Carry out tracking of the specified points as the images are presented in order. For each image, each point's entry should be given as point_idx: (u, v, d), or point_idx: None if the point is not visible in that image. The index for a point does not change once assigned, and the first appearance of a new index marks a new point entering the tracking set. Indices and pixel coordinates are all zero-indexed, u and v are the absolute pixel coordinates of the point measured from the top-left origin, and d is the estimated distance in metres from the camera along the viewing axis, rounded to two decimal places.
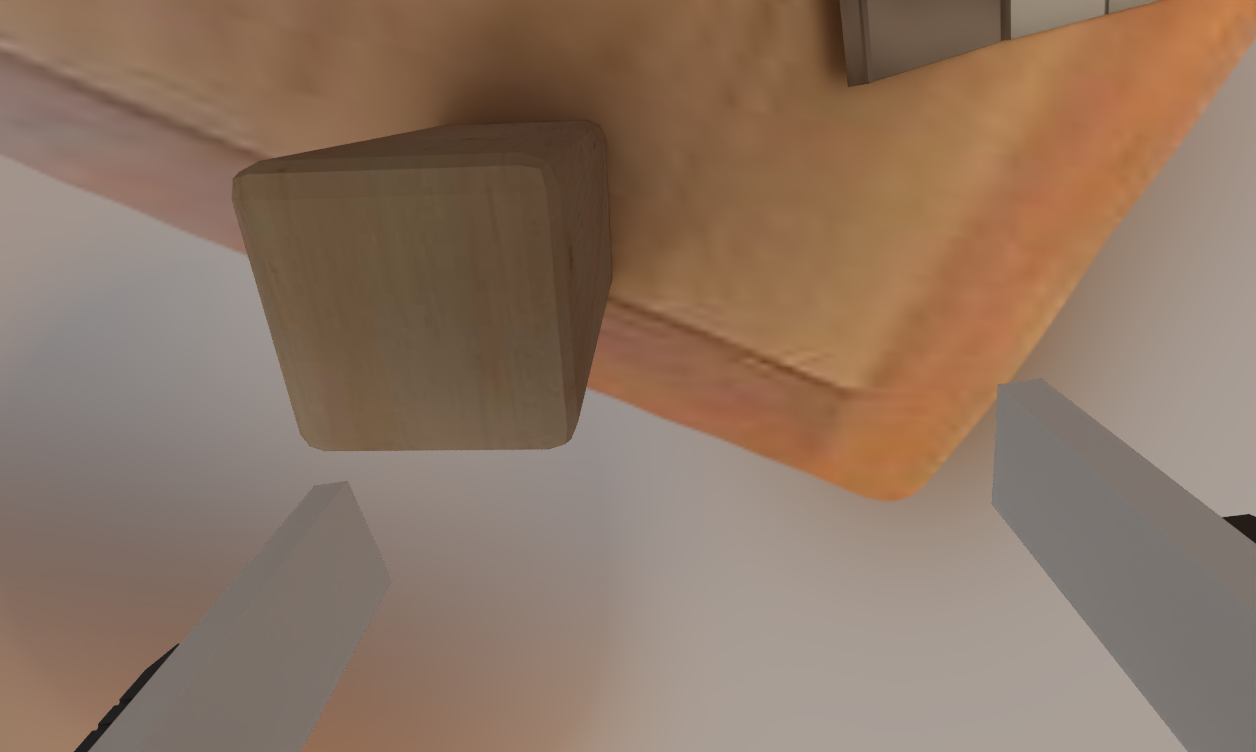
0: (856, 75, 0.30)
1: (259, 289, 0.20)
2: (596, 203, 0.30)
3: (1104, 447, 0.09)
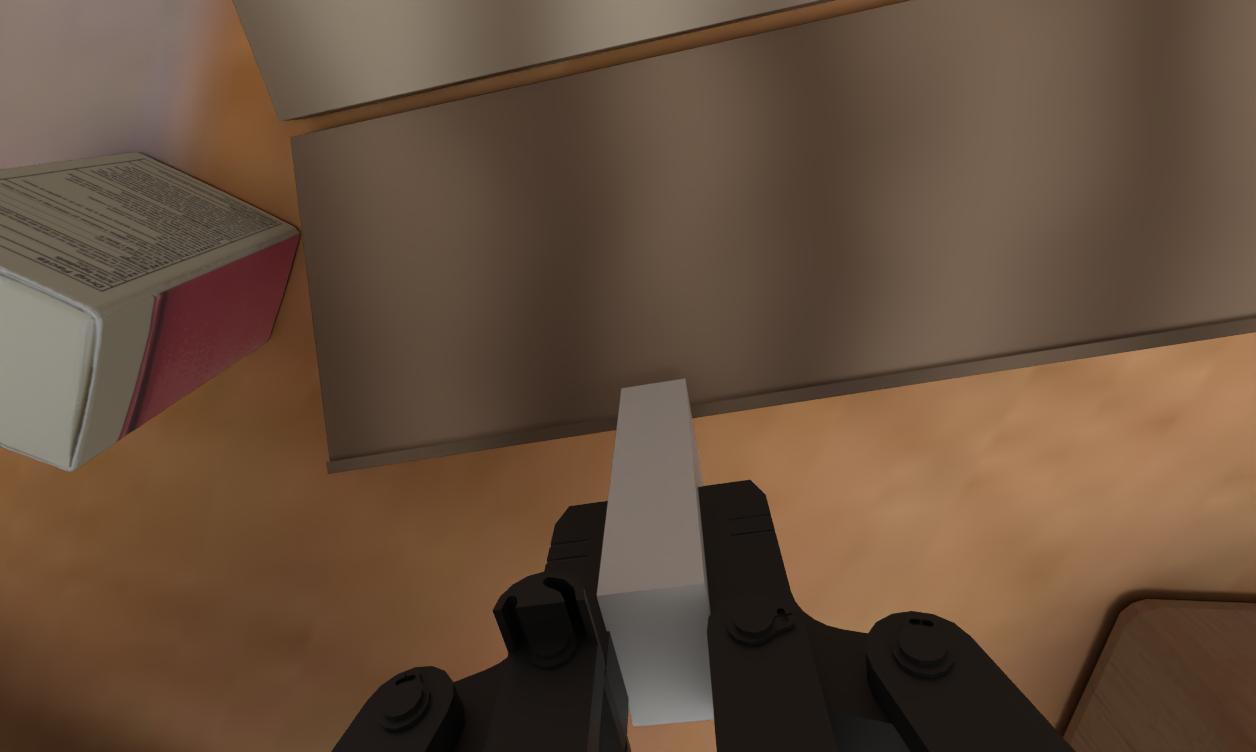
0: None
1: None
2: None
3: (674, 431, 0.12)
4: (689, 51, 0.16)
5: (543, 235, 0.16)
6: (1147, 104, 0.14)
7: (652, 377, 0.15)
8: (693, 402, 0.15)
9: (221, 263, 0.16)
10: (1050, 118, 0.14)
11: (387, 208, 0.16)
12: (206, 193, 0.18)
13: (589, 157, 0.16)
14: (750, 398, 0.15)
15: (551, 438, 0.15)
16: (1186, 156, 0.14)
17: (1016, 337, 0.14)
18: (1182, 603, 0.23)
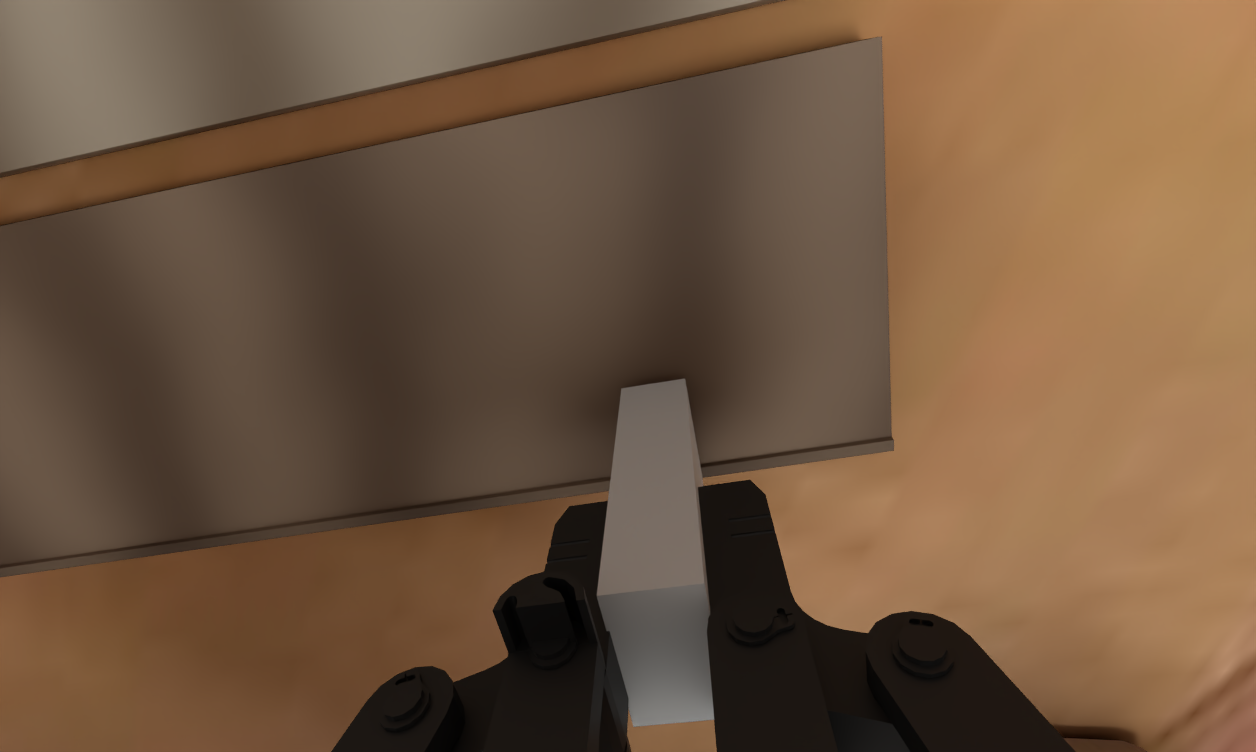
0: None
1: None
2: None
3: (674, 431, 0.12)
4: (188, 189, 0.13)
5: (104, 383, 0.15)
6: (677, 265, 0.14)
7: (255, 502, 0.17)
8: (298, 519, 0.17)
9: None
10: (583, 277, 0.14)
11: None
12: None
13: (120, 306, 0.15)
14: (344, 520, 0.17)
15: (181, 551, 0.17)
16: (711, 317, 0.14)
17: (563, 470, 0.16)
18: None
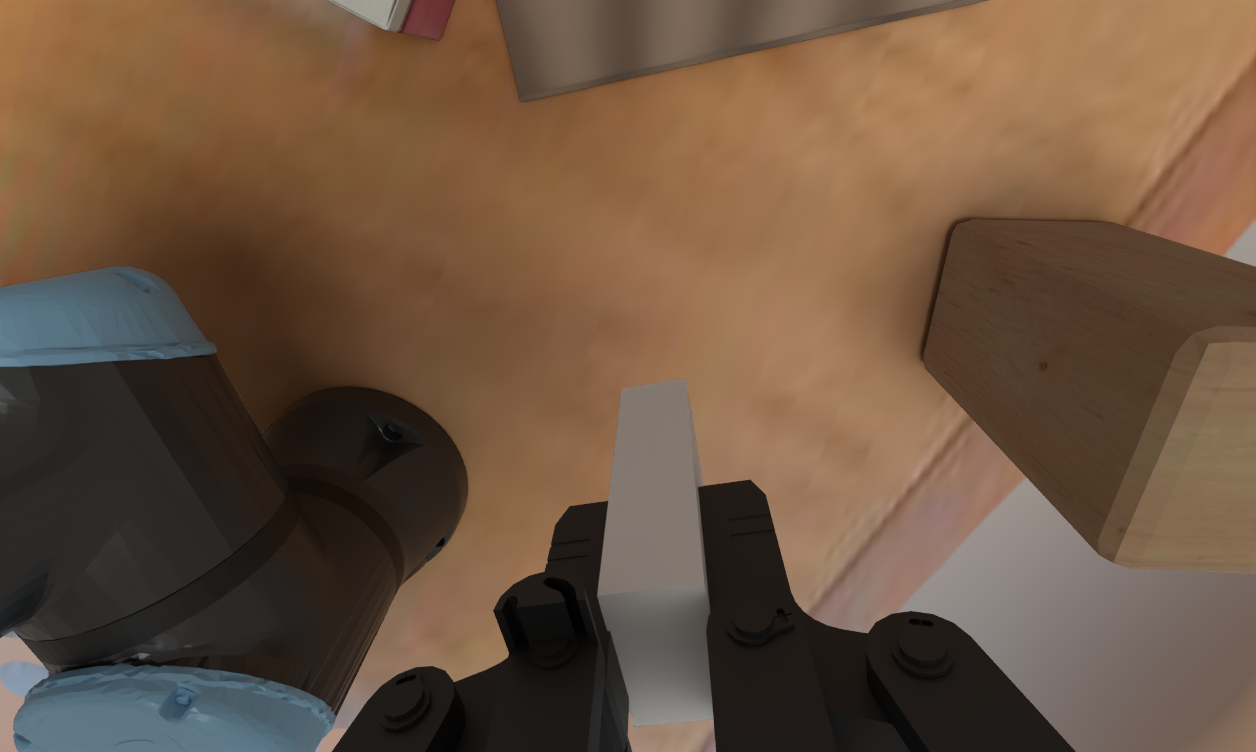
0: None
1: (1203, 570, 0.24)
2: (1087, 248, 0.31)
3: (674, 431, 0.12)
4: None
5: None
6: None
7: (669, 46, 0.34)
8: (687, 57, 0.34)
9: None
10: None
11: None
12: None
13: None
14: (712, 54, 0.34)
15: (624, 78, 0.35)
16: None
17: (827, 20, 0.33)
18: None
